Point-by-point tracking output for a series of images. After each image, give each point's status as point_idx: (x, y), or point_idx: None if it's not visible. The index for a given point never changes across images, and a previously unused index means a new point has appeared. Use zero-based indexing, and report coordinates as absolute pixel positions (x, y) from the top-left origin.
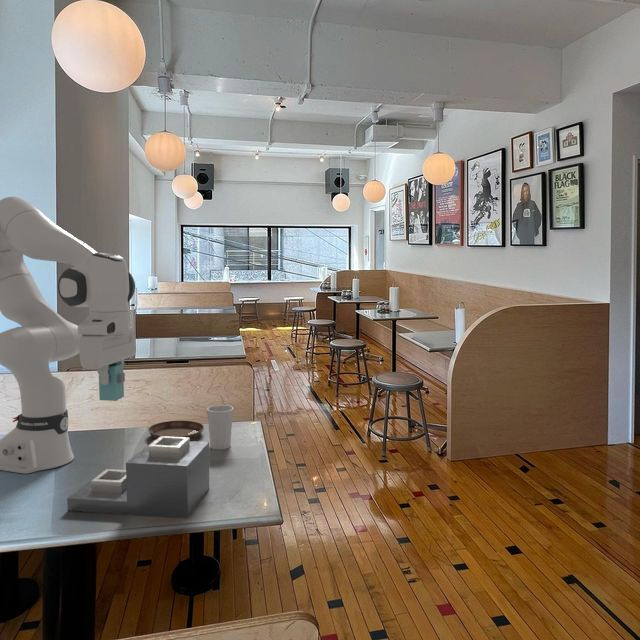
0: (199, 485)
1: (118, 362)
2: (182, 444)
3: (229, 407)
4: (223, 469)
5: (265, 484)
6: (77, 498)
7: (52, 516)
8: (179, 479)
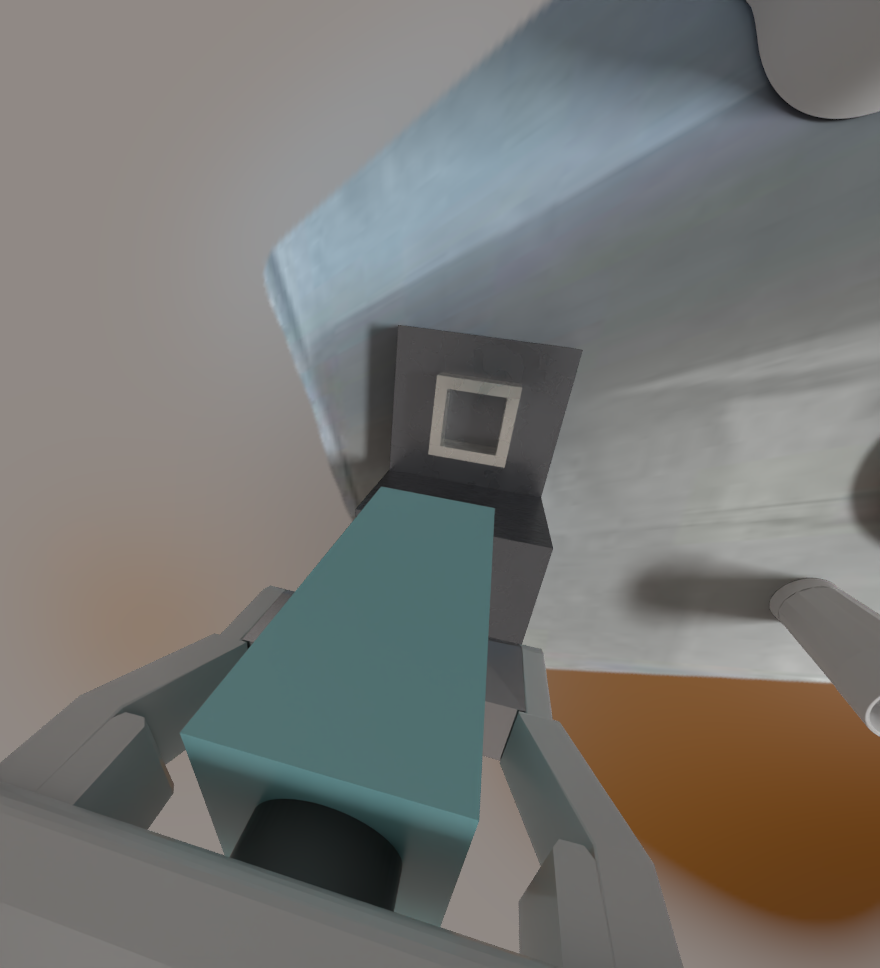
0: None
1: (532, 921)
2: None
3: None
4: (613, 605)
5: None
6: (398, 353)
7: (380, 300)
8: None
